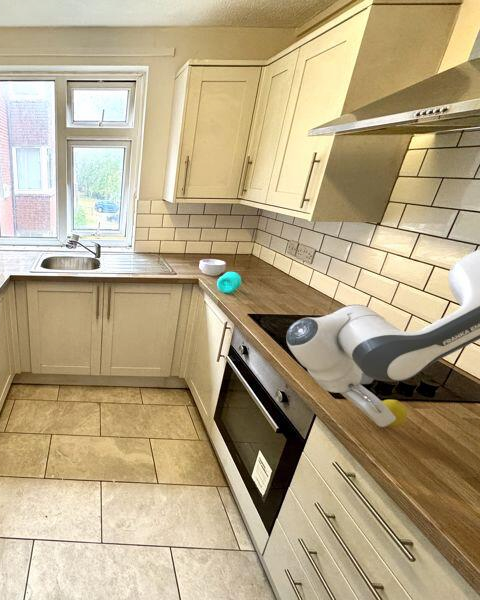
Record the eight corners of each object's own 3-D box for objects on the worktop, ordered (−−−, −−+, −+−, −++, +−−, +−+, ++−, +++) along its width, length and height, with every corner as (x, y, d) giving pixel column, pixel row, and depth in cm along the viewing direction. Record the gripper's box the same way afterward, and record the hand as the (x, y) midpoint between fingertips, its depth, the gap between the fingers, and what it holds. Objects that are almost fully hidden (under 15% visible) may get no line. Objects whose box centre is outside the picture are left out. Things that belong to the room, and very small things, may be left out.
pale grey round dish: (350, 364, 106) (354, 353, 104) (381, 382, 97) (386, 371, 95) (325, 366, 104) (328, 356, 103) (354, 385, 95) (358, 374, 94)
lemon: (396, 423, 81) (409, 398, 78) (402, 437, 77) (415, 411, 74) (368, 415, 84) (379, 390, 81) (372, 428, 79) (384, 403, 76)
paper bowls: (202, 268, 208) (203, 257, 205) (226, 272, 200) (228, 260, 197) (195, 274, 197) (197, 262, 194) (220, 279, 188) (223, 266, 185)
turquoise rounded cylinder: (240, 290, 170) (243, 273, 166) (234, 296, 163) (238, 277, 159) (221, 286, 176) (224, 269, 172) (214, 291, 169) (218, 273, 165)
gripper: (388, 393, 63) (416, 431, 67) (317, 342, 82) (342, 373, 86) (358, 411, 65) (388, 446, 69) (295, 357, 84) (321, 387, 88)
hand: (362, 405), depth 78 cm, fingers closed
